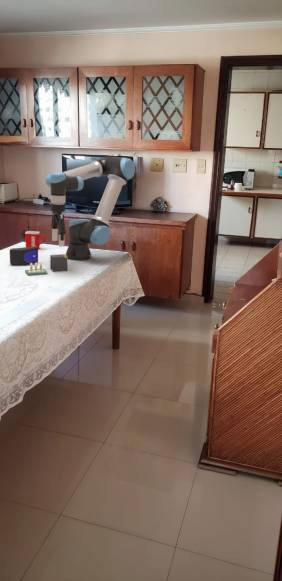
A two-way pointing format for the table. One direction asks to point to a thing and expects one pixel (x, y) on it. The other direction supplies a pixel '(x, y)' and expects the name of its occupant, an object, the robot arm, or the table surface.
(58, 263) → the gray orange-striped box
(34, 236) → the mug
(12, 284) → the table surface
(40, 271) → the header
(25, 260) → the computer mouse
